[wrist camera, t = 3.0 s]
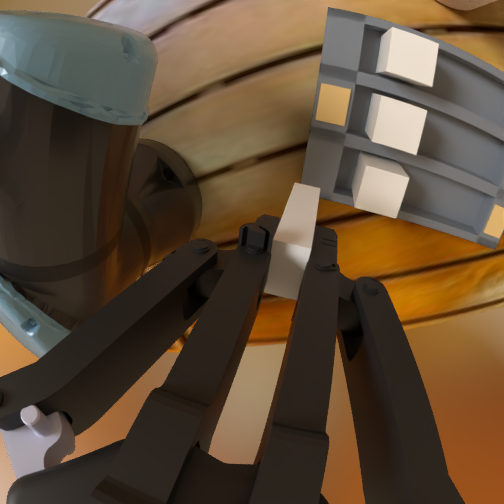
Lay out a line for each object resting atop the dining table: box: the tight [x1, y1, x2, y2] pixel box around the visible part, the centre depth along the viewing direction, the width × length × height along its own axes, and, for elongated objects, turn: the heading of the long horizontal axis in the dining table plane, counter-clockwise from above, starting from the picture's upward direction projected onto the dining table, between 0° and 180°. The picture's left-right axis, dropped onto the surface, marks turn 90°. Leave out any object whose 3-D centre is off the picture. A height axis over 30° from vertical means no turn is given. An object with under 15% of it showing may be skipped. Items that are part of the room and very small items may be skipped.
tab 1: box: [376, 27, 439, 87], centre depth 17 cm, size 4×4×5 cm
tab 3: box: [351, 150, 409, 219], centre depth 23 cm, size 4×4×5 cm
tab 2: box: [365, 93, 427, 155], centre depth 20 cm, size 4×4×5 cm
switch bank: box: [300, 7, 504, 249], centre depth 21 cm, size 22×17×4 cm
